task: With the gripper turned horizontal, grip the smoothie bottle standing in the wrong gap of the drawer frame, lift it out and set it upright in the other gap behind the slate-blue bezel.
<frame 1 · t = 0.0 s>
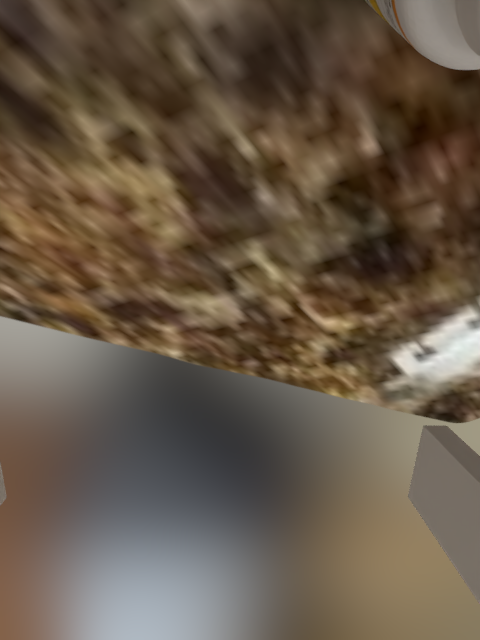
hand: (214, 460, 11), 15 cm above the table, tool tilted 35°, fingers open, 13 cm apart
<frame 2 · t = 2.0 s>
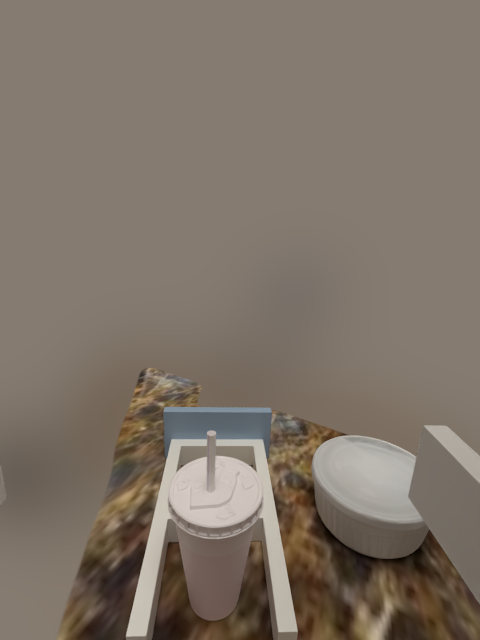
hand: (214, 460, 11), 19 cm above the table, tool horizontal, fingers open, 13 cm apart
smoothie: (214, 595, 26), on the table
ramekin: (366, 518, 33), on the table
drawer frame: (215, 535, 30), on the table
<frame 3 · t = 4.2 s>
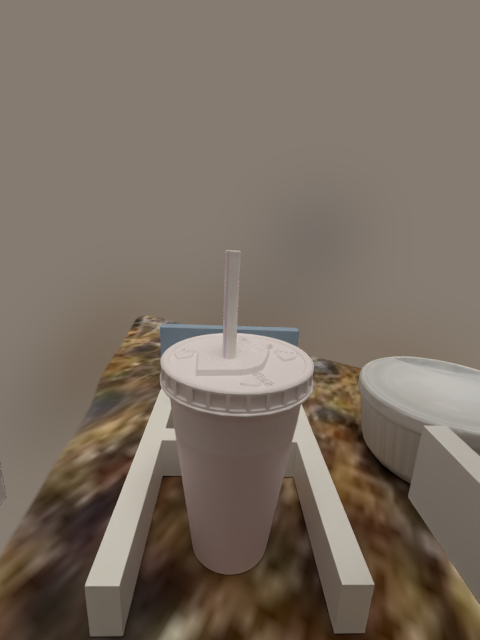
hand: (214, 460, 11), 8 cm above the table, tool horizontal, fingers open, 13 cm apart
smoothie: (229, 540, 17), on the table
ramekin: (432, 456, 24), on the table
drawer frame: (228, 469, 22), on the table
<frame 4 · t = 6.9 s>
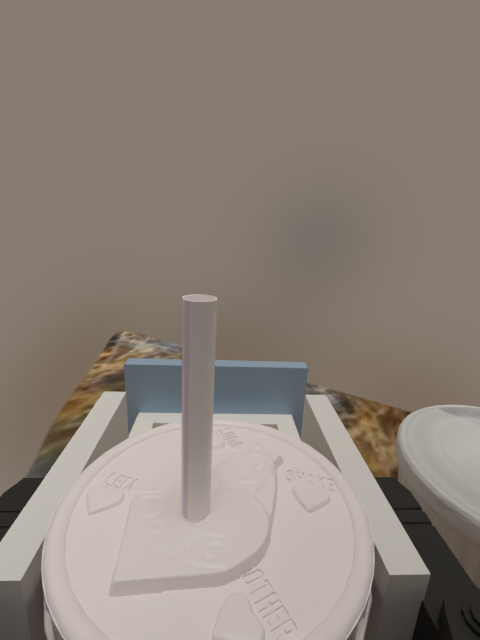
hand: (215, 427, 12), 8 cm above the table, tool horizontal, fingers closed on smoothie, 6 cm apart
drawer frame: (210, 597, 14), on the table
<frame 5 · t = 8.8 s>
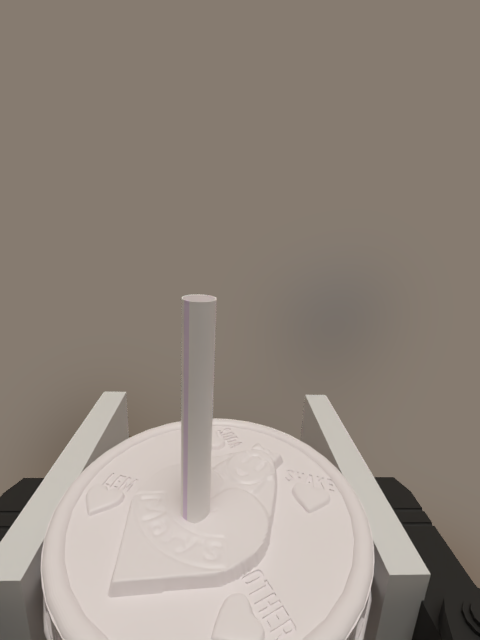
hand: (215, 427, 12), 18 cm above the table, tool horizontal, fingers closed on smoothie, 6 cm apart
when the fingers open (9 cm above the table, at t = 11.2 s): smoothie drops 1 cm, on the table.
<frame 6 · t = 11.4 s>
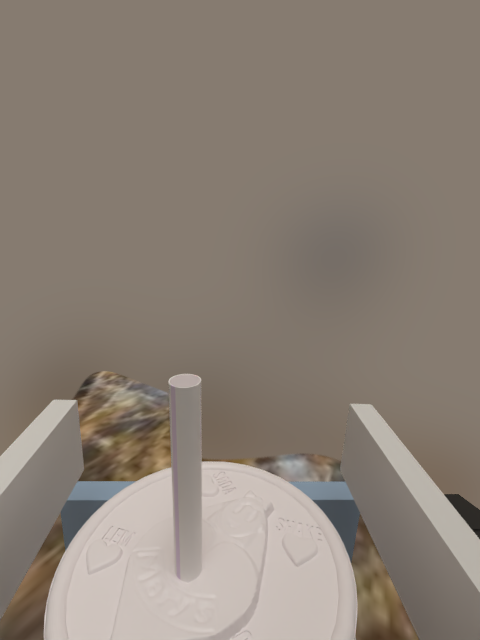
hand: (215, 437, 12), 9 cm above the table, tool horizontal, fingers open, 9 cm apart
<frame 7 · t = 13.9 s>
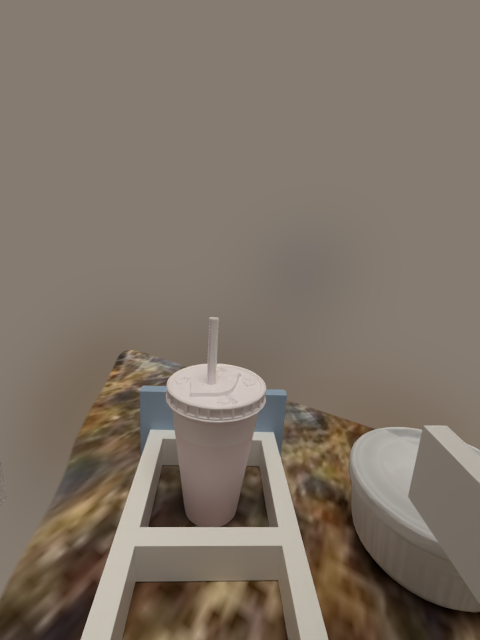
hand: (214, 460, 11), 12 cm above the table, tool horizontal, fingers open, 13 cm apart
smoothie: (210, 508, 25), on the table
ramekin: (425, 544, 23), on the table
drawer frame: (208, 570, 20), on the table
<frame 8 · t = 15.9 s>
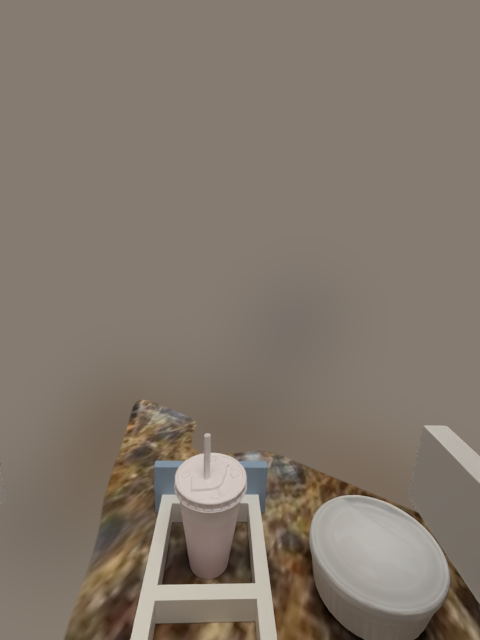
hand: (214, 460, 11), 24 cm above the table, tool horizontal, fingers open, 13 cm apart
smoothie: (208, 561, 33), on the table
ramekin: (367, 590, 31), on the table
drawer frame: (206, 614, 28), on the table
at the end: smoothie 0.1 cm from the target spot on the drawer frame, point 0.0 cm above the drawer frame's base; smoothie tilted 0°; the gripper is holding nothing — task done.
